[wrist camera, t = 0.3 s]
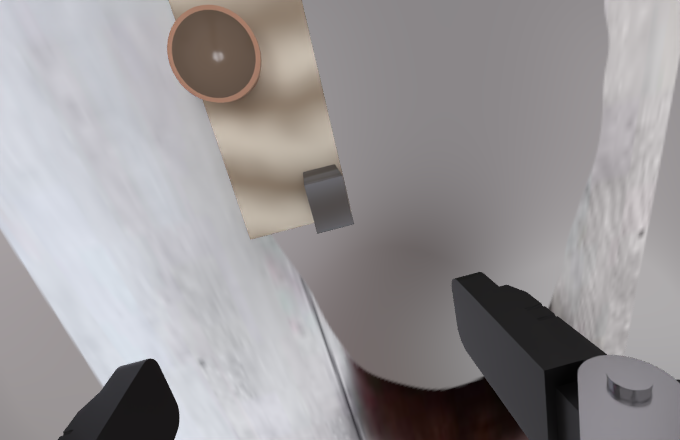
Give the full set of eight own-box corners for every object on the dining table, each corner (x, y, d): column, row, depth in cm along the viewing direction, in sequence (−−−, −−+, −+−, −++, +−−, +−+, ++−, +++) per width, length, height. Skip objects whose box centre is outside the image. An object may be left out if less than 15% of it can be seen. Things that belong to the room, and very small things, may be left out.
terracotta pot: (180, 34, 28) (152, 16, 22) (254, 16, 28) (244, -6, 23) (206, 111, 30) (186, 111, 24) (275, 94, 30) (270, 91, 25)
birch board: (155, -49, 27) (108, -101, 20) (282, -78, 27) (277, -138, 21) (251, 236, 34) (240, 266, 28) (350, 210, 35) (362, 233, 28)
